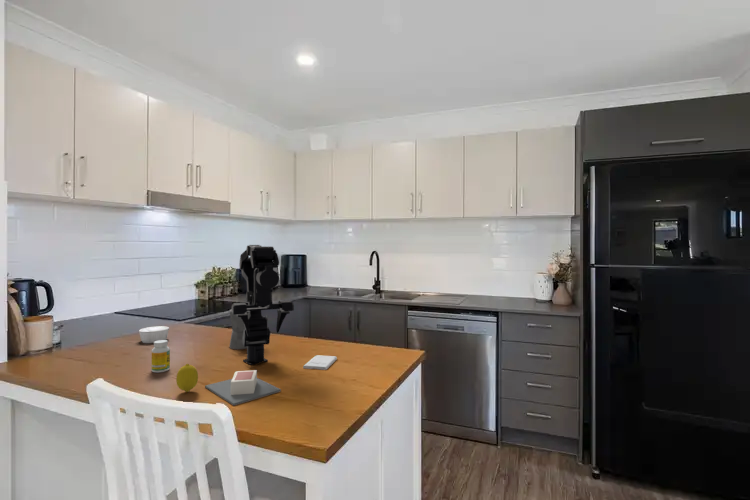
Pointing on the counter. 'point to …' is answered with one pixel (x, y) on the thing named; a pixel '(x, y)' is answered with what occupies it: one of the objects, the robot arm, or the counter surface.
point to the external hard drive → (320, 362)
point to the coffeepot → (237, 331)
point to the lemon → (187, 377)
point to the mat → (225, 393)
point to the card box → (243, 382)
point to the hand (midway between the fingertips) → (263, 333)
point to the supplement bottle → (160, 356)
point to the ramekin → (153, 334)
